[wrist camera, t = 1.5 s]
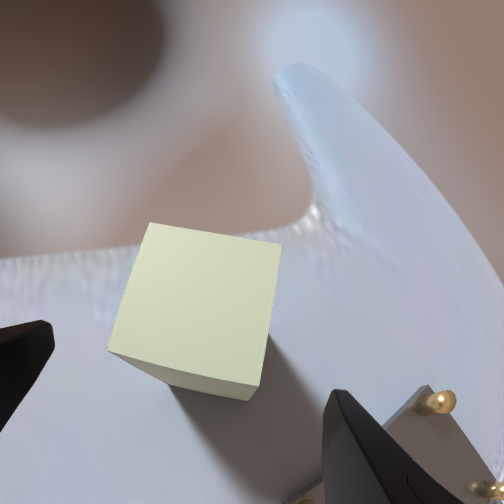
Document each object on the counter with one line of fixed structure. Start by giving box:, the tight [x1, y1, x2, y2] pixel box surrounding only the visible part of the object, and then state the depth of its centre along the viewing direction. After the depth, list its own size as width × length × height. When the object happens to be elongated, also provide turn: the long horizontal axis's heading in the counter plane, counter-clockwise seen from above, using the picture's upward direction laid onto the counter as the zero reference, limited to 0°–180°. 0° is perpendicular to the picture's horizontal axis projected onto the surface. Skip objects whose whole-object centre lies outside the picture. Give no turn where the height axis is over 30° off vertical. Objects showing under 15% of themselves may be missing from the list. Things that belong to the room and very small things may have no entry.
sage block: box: [107, 223, 282, 401], centre depth 15 cm, size 5×5×10 cm
